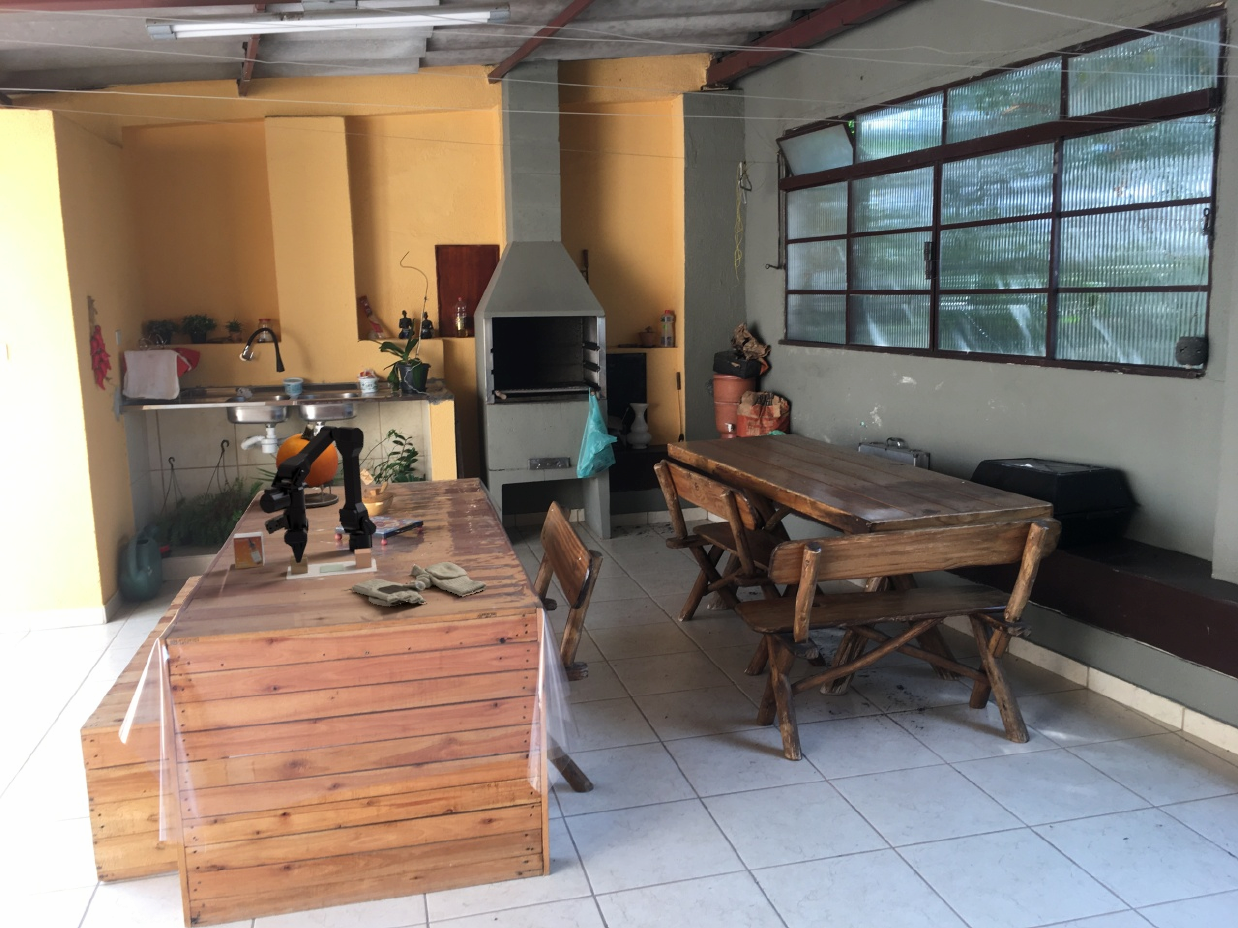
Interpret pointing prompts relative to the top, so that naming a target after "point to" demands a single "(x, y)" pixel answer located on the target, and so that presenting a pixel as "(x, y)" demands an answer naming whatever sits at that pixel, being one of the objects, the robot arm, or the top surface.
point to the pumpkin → (313, 467)
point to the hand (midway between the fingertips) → (299, 558)
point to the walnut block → (299, 565)
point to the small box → (248, 550)
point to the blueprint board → (331, 569)
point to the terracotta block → (363, 558)
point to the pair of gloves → (419, 585)
